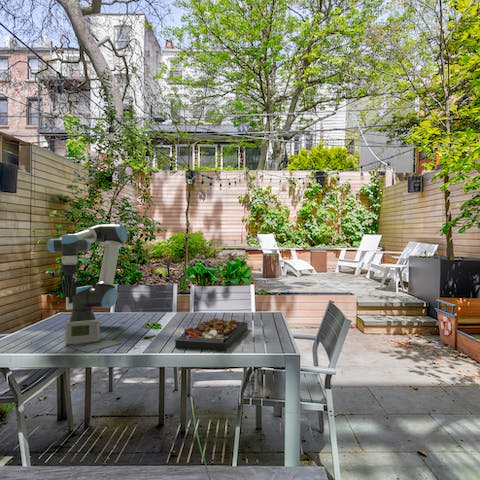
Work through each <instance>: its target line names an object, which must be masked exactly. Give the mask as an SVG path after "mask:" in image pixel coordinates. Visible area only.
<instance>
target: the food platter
mask: <svg viewBox="0 0 480 480" xmlns="http://www.w3.org/2000/svg"><path fill="white" fill-rule="evenodd" d="M182 326H183V328H184V332H183V334H181V336H179V337H178V338H176V339H175V341H174V342H175V344H174V345H175V346H174V347H175V349H180V350H195V351H197V350H198V351H207V350H210V351H209V352H222V351H226V350H227V349H228V348H229V349H230V348H231V346H233V345H234V344H235V343H236V342H237V341H238V340H239V338H241V337H242V336H243V335H244V334H245V332H247V330H248V328H249V327H248V326H249V324H248V322H247V321H236V319H234V318H233V319H231V320H229V321H228V320H224V319H218V317H217V318H216V317H215V318H213V319H209V320H206V321H202V322H200V323H199V325H198V326H196V327H193V326H189V327H188V328H186V327H185V325H184V324H183V325H182ZM229 349H228V350H229ZM226 352H227V351H226Z"/></svg>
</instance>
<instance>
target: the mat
mask: <svg viewBox="0 0 480 480" xmlns="http://www.w3.org/2000/svg"><path fill="white" fill-rule="evenodd" d="M117 344H118V345H120V344H122V343H121V342H118V341H114V340H111V339H107V340H102V341H98V342H93V343H89V344H87V345H83V346H78V347H75V350H76V349H77V350H76V351H80V352H83V351H84V353H91V351H92V352H95V350H96V351H99V350H102V348H103V349H106V347H107V348H109V347H113V346H117ZM98 349H99V350H98Z"/></svg>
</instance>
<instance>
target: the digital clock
mask: <svg viewBox="0 0 480 480" xmlns="http://www.w3.org/2000/svg"><path fill="white" fill-rule="evenodd" d="M100 328H101V327H100V320H99V319H96V320H86V321H74V322H69V321H67V322H65V325H64V344H65V345H66V346H69V345H82V344H83V345H84V344H93V343H98V342H100V340H101V333H100V332H101V331H100V330H101V329H100Z"/></svg>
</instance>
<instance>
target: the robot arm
mask: <svg viewBox="0 0 480 480" xmlns="http://www.w3.org/2000/svg"><path fill="white" fill-rule="evenodd" d="M127 240H128V231H127V229H126V227H125V225H123V224H117V223H116V224H113V223H112V224H97V225H94V226H90V227H88V228H87V227H86V228H84V229H83V231H79V232H77V233H73V234H70V233H69V234H67V233H66V234H62V235H61V237H59V238H50V239H49V240H48V241H47V242H46V248H47V251H48V252H50V253H61V272H62V273H63V276H61V277H60V281H61V286H62V287H61V288H62V294H63V296H64V297H65V310H67V311H69V310H71V315H70V317H69V321H68V322H74V321H86V320H97V319H96V317H95V314H94V311H93V308H104V309H106V308H112V307H113V306H114V305H115V304H116V302H117V301H118V298H119V297H118V296H119V294H118V290H117V289H116V286H115V284H114V281H115V277H116V276H115V274H116V270H117V265H118V264H117V263H118V257H119V252H120V248H122V247H123V243H126V242H127ZM92 243H103V245H104V246H105V247H104V251H103V255H102V256H103V257H102V263H101V269H100V273H99V279H98V282H96V284H95V286H93V285H85V286H78V281H79V277H76V272H77V271H78V253H84V254H85V253H87V252H89V251H90V250H91V249H92Z"/></svg>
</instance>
